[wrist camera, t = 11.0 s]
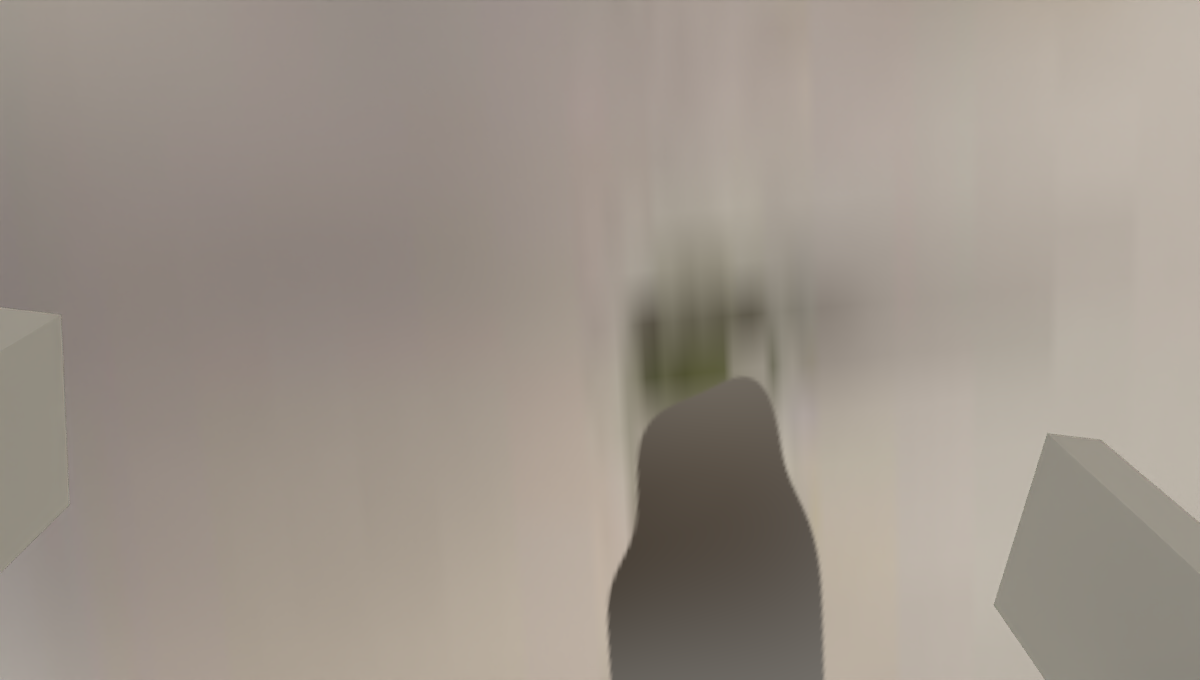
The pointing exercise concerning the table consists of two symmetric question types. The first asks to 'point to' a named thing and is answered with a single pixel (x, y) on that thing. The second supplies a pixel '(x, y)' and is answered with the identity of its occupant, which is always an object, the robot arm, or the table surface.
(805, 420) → the table surface
